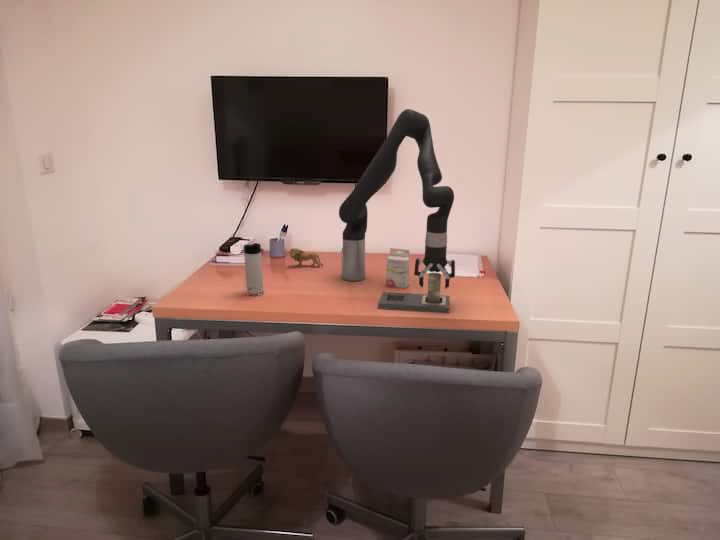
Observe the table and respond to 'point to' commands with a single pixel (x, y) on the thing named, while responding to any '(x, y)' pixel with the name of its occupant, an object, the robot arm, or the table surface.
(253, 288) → the travel mug
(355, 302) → the table surface
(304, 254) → the lion figurine
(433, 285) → the peg
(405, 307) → the grey flat plate
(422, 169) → the robot arm
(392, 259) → the ink cartridge box
